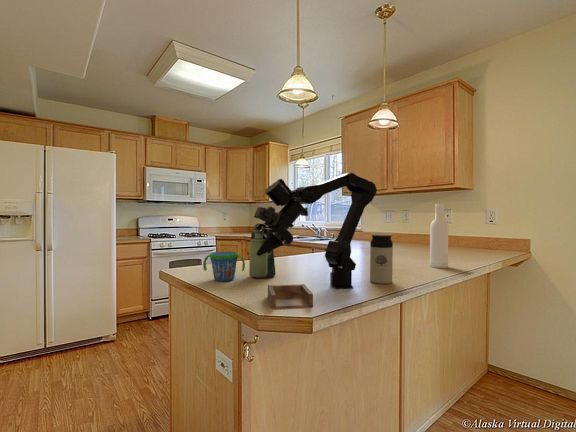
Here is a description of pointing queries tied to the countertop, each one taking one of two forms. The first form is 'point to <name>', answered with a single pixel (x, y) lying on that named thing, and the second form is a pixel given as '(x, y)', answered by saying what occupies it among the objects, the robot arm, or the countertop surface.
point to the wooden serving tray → (289, 296)
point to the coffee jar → (269, 261)
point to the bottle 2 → (439, 239)
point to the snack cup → (224, 265)
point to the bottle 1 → (257, 257)
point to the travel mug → (381, 258)
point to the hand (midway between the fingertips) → (253, 253)
